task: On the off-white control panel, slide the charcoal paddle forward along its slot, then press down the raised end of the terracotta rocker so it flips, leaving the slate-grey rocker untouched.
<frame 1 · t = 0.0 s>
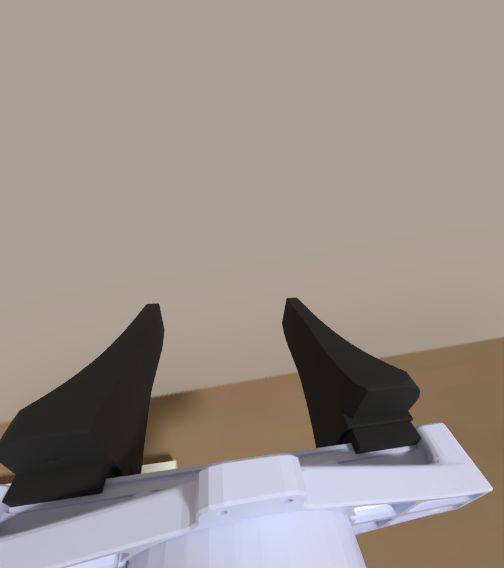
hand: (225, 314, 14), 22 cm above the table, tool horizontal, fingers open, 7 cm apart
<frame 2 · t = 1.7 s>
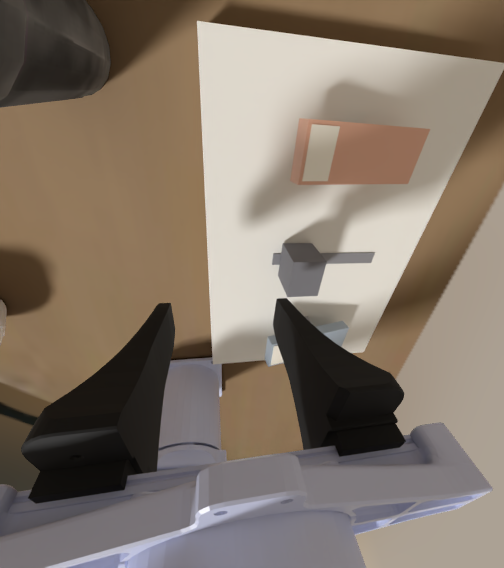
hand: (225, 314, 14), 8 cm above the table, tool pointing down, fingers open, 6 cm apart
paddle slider: (299, 269, 19), point 4 cm above the table, slide at 0.0 cm
switch panel: (308, 247, 22), on the table
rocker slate: (306, 343, 23), point 4 cm above the table, hinge at 10.0°
beverage cup: (64, 42, 13), on the table
rocker terracotta: (360, 155, 14), point 4 cm above the table, hinge at 10.0°
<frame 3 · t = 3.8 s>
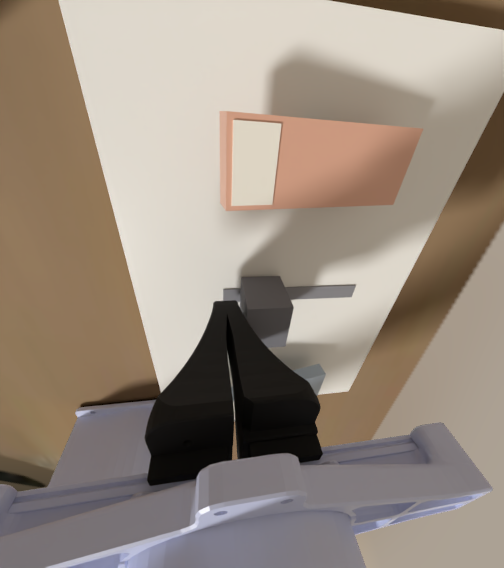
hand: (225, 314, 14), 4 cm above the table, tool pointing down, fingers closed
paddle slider: (263, 311, 14), point 4 cm above the table, slide at 0.5 cm, touching gripper
switch panel: (274, 276, 17), on the table
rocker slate: (273, 392, 19), point 4 cm above the table, hinge at 10.0°
rocker terracotta: (321, 166, 10), point 4 cm above the table, hinge at 10.0°
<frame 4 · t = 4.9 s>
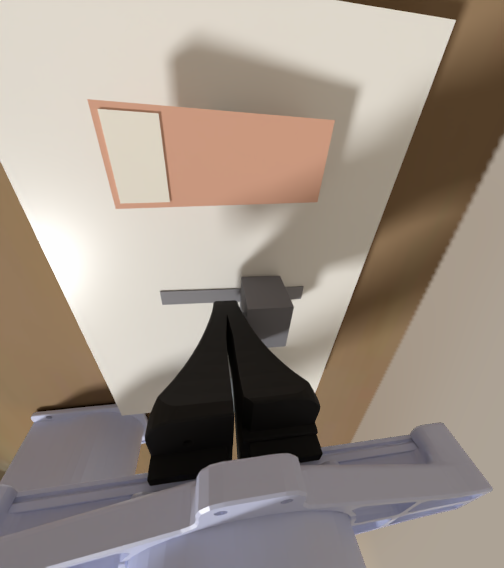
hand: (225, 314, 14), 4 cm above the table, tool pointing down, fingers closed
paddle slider: (263, 311, 14), point 4 cm above the table, slide at 4.2 cm, touching gripper
switch panel: (222, 277, 17), on the table
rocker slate: (225, 397, 18), point 4 cm above the table, hinge at 10.0°
rocker terracotta: (226, 160, 9), point 4 cm above the table, hinge at 10.0°
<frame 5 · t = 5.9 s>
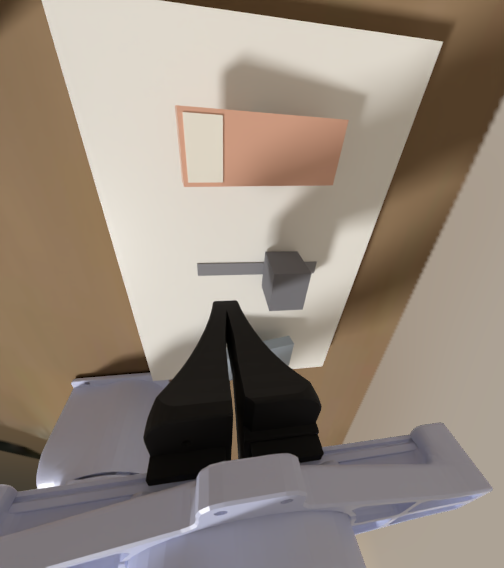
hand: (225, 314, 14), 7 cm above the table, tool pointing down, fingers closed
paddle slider: (283, 280, 17), point 4 cm above the table, slide at 4.2 cm
switch panel: (246, 255, 20), on the table
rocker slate: (247, 360, 21), point 4 cm above the table, hinge at 10.0°
rocker terracotta: (265, 151, 12), point 4 cm above the table, hinge at 10.0°
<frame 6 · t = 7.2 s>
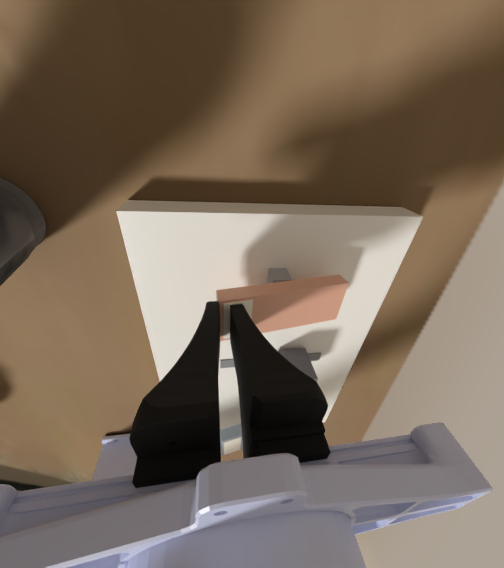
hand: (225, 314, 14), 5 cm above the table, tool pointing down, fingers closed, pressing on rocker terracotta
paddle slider: (293, 375, 20), point 4 cm above the table, slide at 4.2 cm
switch panel: (260, 342, 23), on the table
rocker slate: (260, 430, 24), point 4 cm above the table, hinge at 10.0°
beverage cup: (0, 213, 14), on the table
rocker terracotta: (282, 306, 15), point 4 cm above the table, hinge at 9.6°, touching gripper
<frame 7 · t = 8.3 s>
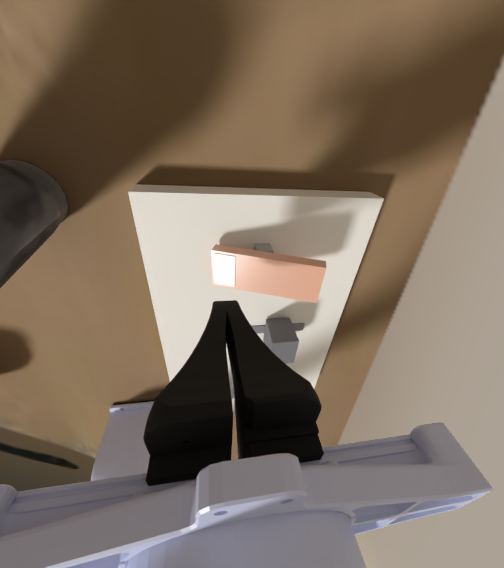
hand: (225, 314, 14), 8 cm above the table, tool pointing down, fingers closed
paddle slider: (279, 340, 23), point 4 cm above the table, slide at 4.2 cm
switch panel: (251, 315, 26), on the table
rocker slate: (252, 395, 27), point 4 cm above the table, hinge at 10.0°
beverage cup: (31, 195, 16), on the table
rocker terracotta: (265, 273, 18), point 4 cm above the table, hinge at -20.2°
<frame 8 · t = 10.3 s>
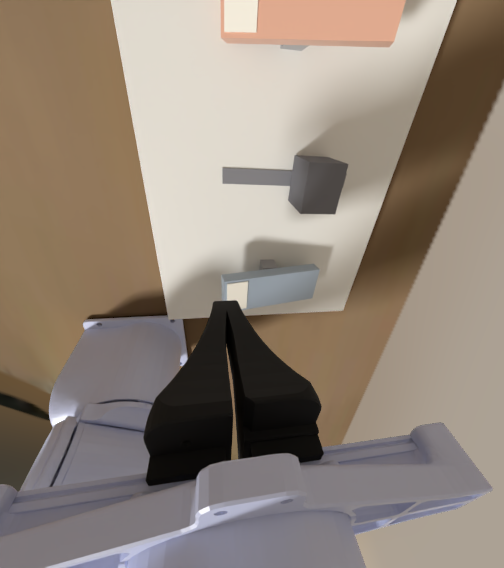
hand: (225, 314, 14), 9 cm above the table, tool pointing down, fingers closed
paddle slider: (314, 184, 16), point 4 cm above the table, slide at 4.2 cm
switch panel: (270, 172, 19), on the table
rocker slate: (270, 287, 20), point 4 cm above the table, hinge at 10.0°
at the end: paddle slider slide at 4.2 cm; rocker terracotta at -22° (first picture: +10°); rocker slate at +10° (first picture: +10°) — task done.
